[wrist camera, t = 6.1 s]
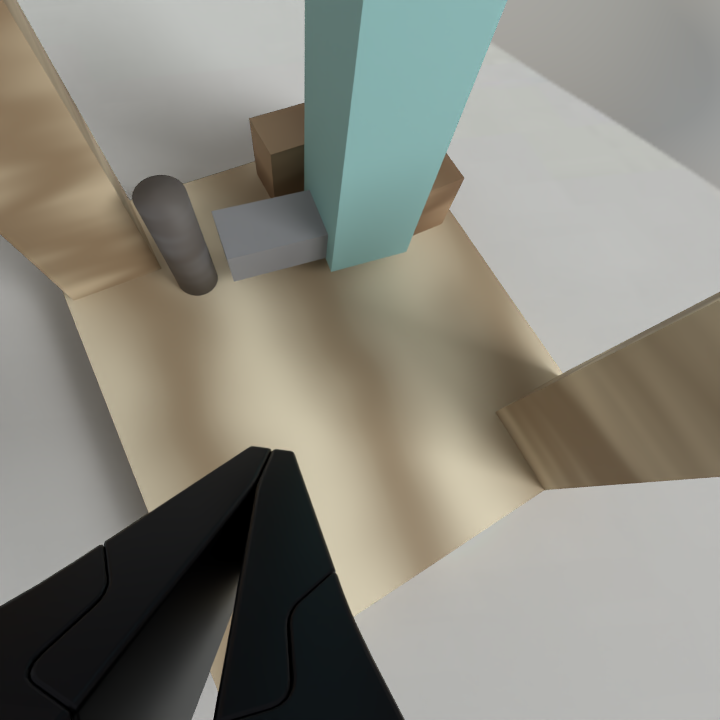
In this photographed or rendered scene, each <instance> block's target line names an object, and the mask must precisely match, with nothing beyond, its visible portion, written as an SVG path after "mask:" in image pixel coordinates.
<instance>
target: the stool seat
mask: <svg viewBox="0 0 720 720" xmlns="http://www.w3.org/2000/svg"><path fill="white" fill-rule="evenodd" d="M304 118H305V103H302V104H298V105H295V106H291V107H288V108H284V109H281V110H277V111H274V112H270V113H267V114H263V115H260V116H256V117H253V118H249V120H250V127H251V134H252V142H253V149H254V156H255V162H251V163H248V164H245V165H242V166H239V167H235V168H232V169H229V170H226V171H223V172H220V173H216V174H213V175H210V176H207V177H204V178H200V179H197V180H194V181H191V182H188V183H185V184H182V183H181V182H180V181H179V180H177V179H176V178H173V177H170V176H166V175H156V176H151V177H148V178H146V179H144V180H143V181H141V182H140V183H139V184H138V185H137V186H136V187H135V189H134V191H133V195H132V199H133V200H131V201H129V199H128V197H127V195H126V193H125V192H124V190H123V188H122V186H121V185H120V183H119V181H118V179H117V178H116V176H115V174H114V172H113V170H112V169H111V167H110V165H109V163H108V162H107V160H106V158H105V156H104V154H103V153H102V151H101V149H100V147H99V146H98V144H97V142H96V140H95V139H94V137H93V135H92V133H91V131H90V130H89V128H88V126H87V124H86V123H85V121H84V119H83V117H82V116H81V114H80V112H79V110H78V108H77V107H76V105H75V103H74V101H73V100H72V98H71V96H70V94H69V92H68V91H67V89H66V87H65V85H64V84H63V82H62V80H61V78H60V77H59V75H58V73H57V71H56V69H55V68H54V66H53V64H52V62H51V61H50V59H49V57H48V55H47V54H46V52H45V50H44V48H43V46H42V45H41V43H40V41H39V39H38V38H37V36H36V34H35V32H34V30H33V29H32V27H31V25H30V23H29V22H28V20H27V18H26V16H25V15H24V13H23V11H22V9H21V7H20V6H19V4H18V2H17V0H0V234H1V235H2V236H3V237H4V238H5V239H6V240H7V241H8V242H10V243H11V244H12V245H13V246H14V247H15V248H16V249H17V250H18V251H19V252H21V253H22V254H23V255H24V256H25V257H26V258H27V259H28V260H29V261H31V262H32V263H33V264H34V265H35V266H36V267H37V268H38V269H39V270H40V271H42V272H43V273H44V274H45V275H46V276H47V277H48V278H49V279H50V280H52V281H53V282H54V283H55V284H56V285H57V286H58V287H59V288H60V289H61V290H62V291H63V294H64V296H65V299H66V301H67V304H68V307H69V309H70V312H71V314H72V317H73V319H74V322H75V325H76V327H77V330H78V332H79V335H80V337H81V340H82V343H83V345H84V348H85V350H86V353H87V355H88V358H89V361H90V363H91V366H92V368H93V371H94V373H95V376H96V379H97V381H98V384H99V386H100V389H101V391H102V394H103V397H104V399H105V402H106V404H107V407H108V409H109V412H110V415H111V417H112V420H113V422H114V425H115V427H116V430H117V433H118V435H119V438H120V440H121V443H122V445H123V448H124V451H125V453H126V456H127V458H128V461H129V463H130V466H131V469H132V471H133V474H134V476H135V479H136V481H137V484H138V487H139V489H140V492H141V494H142V497H143V499H144V502H145V505H146V507H147V510H148V512H151V511H152V510H154V509H155V508H157V507H158V506H160V505H161V504H163V503H165V502H166V501H168V500H169V499H171V498H172V497H174V496H175V495H177V494H178V493H180V492H181V491H183V490H184V489H186V488H187V487H189V486H190V485H192V484H193V483H195V482H196V481H198V480H200V479H201V478H203V477H204V476H206V475H207V474H209V473H210V472H212V471H213V470H215V469H216V468H218V467H219V466H221V465H222V464H224V463H225V462H227V461H228V460H230V459H231V458H233V457H235V456H236V455H238V454H239V453H241V452H242V451H244V450H245V449H247V448H248V447H250V446H258V447H265V448H270V449H271V451H273V450H274V449H280V450H288V451H293V452H294V454H295V456H296V459H297V462H298V465H299V468H300V471H301V473H302V476H303V479H304V482H305V485H306V488H307V490H308V493H309V496H310V499H311V502H312V505H313V508H314V510H315V513H316V516H317V519H318V522H319V525H320V527H321V530H322V533H323V536H324V539H325V542H326V544H327V547H328V550H329V553H330V556H331V559H332V561H333V564H334V567H335V570H336V572H335V573H336V574H337V575H338V578H339V581H340V583H341V586H342V589H343V592H344V595H345V597H346V600H347V602H348V605H349V607H350V610H351V612H352V615H353V617H354V616H356V615H357V614H359V613H360V612H362V611H363V610H365V609H366V608H368V607H369V606H371V605H372V604H374V603H375V602H377V601H378V600H380V599H381V598H383V597H384V596H386V595H387V594H389V593H390V592H392V591H393V590H395V589H396V588H398V587H399V586H401V585H402V584H404V583H405V582H407V581H408V580H410V579H411V578H413V577H414V576H416V575H417V574H419V573H420V572H422V571H423V570H425V569H426V568H428V567H429V566H431V565H432V564H434V563H435V562H437V561H438V560H440V559H441V558H443V557H444V556H446V555H447V554H449V553H450V552H452V551H453V550H455V549H456V548H458V547H459V546H461V545H462V544H464V543H465V542H467V541H468V540H470V539H471V538H473V537H474V536H476V535H478V534H479V533H481V532H482V531H484V530H485V529H487V528H488V527H490V526H491V525H493V524H494V523H496V522H497V521H499V520H500V519H502V518H503V517H505V516H506V515H508V514H509V513H511V512H512V511H514V510H515V509H517V508H518V507H520V506H521V505H523V504H524V503H526V502H527V501H529V500H530V499H532V498H533V497H535V496H536V495H538V494H539V493H541V492H542V491H544V490H550V489H563V488H577V487H590V486H603V485H616V484H629V483H643V482H656V481H669V480H682V479H696V478H709V477H720V292H719V293H717V294H715V295H713V296H711V297H709V298H707V299H705V300H703V301H701V302H699V303H697V304H696V305H694V306H692V307H690V308H688V309H686V310H684V311H682V312H680V313H678V314H676V315H674V316H672V317H671V318H669V319H667V320H665V321H663V322H661V323H659V324H657V325H655V326H653V327H651V328H649V329H647V330H645V331H644V332H642V333H640V334H638V335H636V336H634V337H632V338H630V339H628V340H626V341H624V342H622V343H620V344H618V345H617V346H615V347H613V348H611V349H609V350H607V351H605V352H603V353H601V354H599V355H597V356H595V357H593V358H592V359H590V360H588V361H586V362H584V363H582V364H580V365H578V366H576V367H574V368H572V369H570V370H568V371H566V372H565V373H562V372H561V370H560V369H559V367H558V366H557V364H556V363H555V361H554V360H553V359H552V357H551V356H550V354H549V353H548V351H547V350H546V348H545V347H544V346H543V344H542V343H541V341H540V340H539V338H538V337H537V335H536V334H535V333H534V331H533V330H532V328H531V327H530V325H529V324H528V322H527V321H526V320H525V318H524V317H523V315H522V314H521V312H520V311H519V309H518V308H517V307H516V305H515V304H514V302H513V301H512V299H511V298H510V296H509V295H508V294H507V292H506V291H505V289H504V288H503V286H502V285H501V283H500V282H499V281H498V279H497V278H496V276H495V275H494V273H493V272H492V270H491V269H490V268H489V266H488V265H487V263H486V262H485V260H484V259H483V257H482V256H481V255H480V253H479V252H478V250H477V249H476V247H475V246H474V244H473V243H472V242H471V240H470V239H469V237H468V236H467V234H466V233H465V231H464V230H463V229H462V227H461V226H460V224H459V223H458V221H457V220H456V218H455V217H454V216H453V214H452V213H451V211H450V210H449V208H450V206H451V204H452V202H453V200H454V198H455V196H456V194H457V192H458V190H459V188H460V186H461V184H462V182H463V180H464V177H463V175H462V174H461V173H460V171H459V170H458V169H457V167H456V166H455V164H454V163H453V162H452V160H451V159H450V157H449V156H448V155H447V153H446V154H445V157H444V159H443V162H442V164H441V167H440V169H439V171H438V174H437V176H436V179H435V181H434V184H433V186H432V189H431V191H430V194H429V196H428V199H427V201H426V204H425V206H424V209H423V211H422V214H421V216H420V219H419V221H418V224H417V226H416V229H415V231H414V234H413V236H412V239H411V241H410V244H409V246H408V249H407V251H406V252H404V253H400V254H396V255H392V256H389V257H385V258H381V259H378V260H374V261H370V262H366V263H363V264H359V265H355V266H352V267H348V268H344V269H340V270H337V271H333V272H331V270H330V268H329V265H328V263H327V261H326V258H323V259H319V260H316V261H312V262H308V263H304V264H300V265H296V266H293V267H289V268H285V269H281V270H277V271H273V272H269V273H266V274H262V275H258V276H254V277H250V278H246V279H243V280H239V281H235V282H234V280H233V277H232V274H231V271H230V268H229V265H228V262H227V259H226V256H225V253H224V250H223V247H222V244H221V241H220V238H219V234H218V231H217V228H216V225H215V222H214V218H213V215H212V212H211V211H215V210H219V209H224V208H229V207H233V206H238V205H242V204H247V203H252V202H256V201H261V200H265V199H270V198H274V197H279V196H284V195H288V194H293V193H297V192H302V191H304ZM232 614H233V612H232ZM231 619H232V615H231V617H230V620H229V623H228V625H227V628H226V630H225V633H224V636H223V638H222V641H221V643H220V646H219V649H218V651H217V654H216V657H215V659H214V662H213V664H212V667H211V670H210V672H211V674H212V677H213V680H214V682H215V685H216V687H217V690H218V691H219V685H220V680H221V674H222V669H223V663H224V658H225V652H226V647H227V641H228V636H229V630H230V625H231Z"/></svg>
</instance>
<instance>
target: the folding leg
mask: <svg viewBox="0 0 720 720" xmlns="http://www.w3.org/2000/svg"><path fill="white" fill-rule="evenodd" d="M506 2H507V0H305V118H304V191H302V192H297V193H293V194H288V195H284V196H279V197H274V198H270V199H265V200H261V201H256V202H252V203H247V204H242V205H238V206H233V207H229V208H224V209H219V210H215V211H211V212H212V215H213V218H214V222H215V225H216V228H217V231H218V234H219V238H220V241H221V244H222V247H223V250H224V253H225V256H226V259H227V262H228V265H229V268H230V271H231V274H232V277H233V280H234V282H235V281H239V280H243V279H246V278H250V277H254V276H258V275H262V274H266V273H269V272H273V271H277V270H281V269H285V268H289V267H293V266H296V265H300V264H304V263H308V262H312V261H316V260H319V259H323V258H326V261H327V263H328V265H329V268H330V270H331V272H333V271H337V270H340V269H344V268H348V267H352V266H355V265H359V264H363V263H366V262H370V261H374V260H378V259H381V258H385V257H389V256H392V255H396V254H400V253H404V252H406V251H407V249H408V246H409V244H410V241H411V239H412V236H413V234H414V231H415V229H416V226H417V224H418V221H419V219H420V216H421V214H422V211H423V209H424V206H425V204H426V201H427V199H428V196H429V194H430V191H431V189H432V186H433V184H434V181H435V179H436V176H437V174H438V171H439V169H440V167H441V164H442V162H443V159H444V157H445V154H446V152H447V149H448V147H449V144H450V142H451V139H452V137H453V134H454V132H455V129H456V127H457V124H458V122H459V119H460V117H461V114H462V112H463V109H464V107H465V104H466V102H467V99H468V97H469V94H470V92H471V89H472V87H473V84H474V82H475V79H476V77H477V74H478V72H479V69H480V67H481V65H482V62H483V60H484V57H485V55H486V52H487V50H488V47H489V45H490V42H491V40H492V37H493V35H494V32H495V30H496V27H497V25H498V22H499V20H500V17H501V15H502V12H503V10H504V7H505V4H506Z"/></svg>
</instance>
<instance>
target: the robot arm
mask: <svg viewBox="0 0 720 720" xmlns="http://www.w3.org/2000/svg"><path fill="white" fill-rule="evenodd" d="M335 572H336V570H335V567H334V564H333V561H332V559H331V556H330V553H329V550H328V547H327V544H326V542H325V539H324V536H323V533H322V530H321V527H320V525H319V522H318V519H317V516H316V513H315V510H314V508H313V505H312V502H311V499H310V496H309V493H308V490H307V488H306V485H305V482H304V479H303V476H302V473H301V471H300V468H299V465H298V462H297V459H296V456H295V454H294V452H293V451H288V450H280V449H274V450H273V451H271V449H270V448H265V447H258V446H250V447H248V448H247V449H245V450H244V451H242V452H241V453H239V454H238V455H236V456H235V457H233V458H231V459H230V460H228V461H227V462H225V463H224V464H222V465H221V466H219V467H218V468H216V469H215V470H213V471H212V472H210V473H209V474H207V475H206V476H204V477H203V478H201V479H200V480H198V481H196V482H195V483H193V484H192V485H190V486H189V487H187V488H186V489H184V490H183V491H181V492H180V493H178V494H177V495H175V496H174V497H172V498H171V499H169V500H168V501H166V502H165V503H163V504H161V505H160V506H158V507H157V508H155V509H154V510H152V511H151V512H149V513H148V514H146V515H145V516H143V517H142V518H140V519H139V520H137V521H136V522H134V523H133V524H131V525H129V526H128V527H126V528H125V529H123V530H122V531H120V532H119V533H117V534H116V535H114V536H113V537H111V538H110V539H108V540H107V541H105V542H104V546H103V545H99V546H97V547H96V548H94V549H93V550H91V551H90V552H88V553H87V554H85V555H84V556H82V557H80V558H79V559H77V560H76V561H74V562H73V563H71V564H69V565H68V566H66V567H65V568H63V569H62V570H60V571H58V572H57V573H55V574H54V575H52V576H50V577H49V578H47V579H46V580H44V581H42V582H41V583H39V584H38V585H36V586H34V587H32V588H31V589H29V590H27V591H25V592H24V593H22V594H20V595H19V596H17V597H15V598H13V599H12V600H10V601H8V602H6V603H5V604H3V605H1V606H0V720H191V719H192V717H193V714H194V712H195V709H196V706H197V704H198V701H199V698H200V696H201V693H202V691H203V688H204V685H205V683H206V680H207V678H208V675H209V672H210V670H211V667H212V664H213V662H214V659H215V657H216V654H217V651H218V649H219V646H220V643H221V641H222V638H223V636H224V633H225V630H226V628H227V625H228V623H229V620H230V617H231V615H232V619H231V625H230V630H229V636H228V641H227V647H226V652H225V658H224V663H223V669H222V674H221V680H220V685H219V691H218V696H217V702H216V707H215V713H214V718H213V720H405V719H404V717H403V716H402V714H401V712H400V710H399V708H398V706H397V704H396V702H395V700H394V698H393V696H392V694H391V692H390V690H389V688H388V687H387V685H386V683H385V681H384V679H383V677H382V675H381V673H380V671H379V669H378V667H377V665H376V663H375V661H374V659H373V658H372V656H371V654H370V651H369V649H368V647H367V645H366V643H365V641H364V639H363V637H362V635H361V633H360V631H359V629H358V626H357V624H356V622H355V620H354V617H353V615H352V612H351V610H350V607H349V605H348V602H347V600H346V597H345V595H344V592H343V589H342V586H341V583H340V581H339V578H338V575H337V574H336V573H335ZM232 612H233V614H232Z"/></svg>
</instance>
